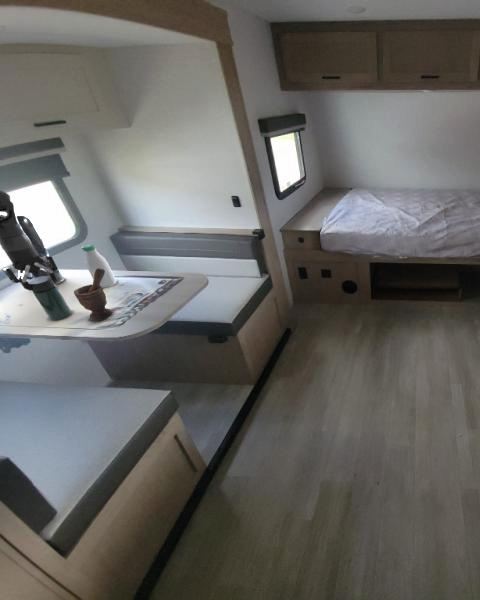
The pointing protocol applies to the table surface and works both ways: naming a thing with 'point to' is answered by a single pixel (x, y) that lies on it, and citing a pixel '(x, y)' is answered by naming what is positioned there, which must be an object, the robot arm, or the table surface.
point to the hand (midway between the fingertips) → (42, 285)
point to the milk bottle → (98, 265)
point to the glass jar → (53, 303)
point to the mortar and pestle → (94, 297)
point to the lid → (41, 283)
